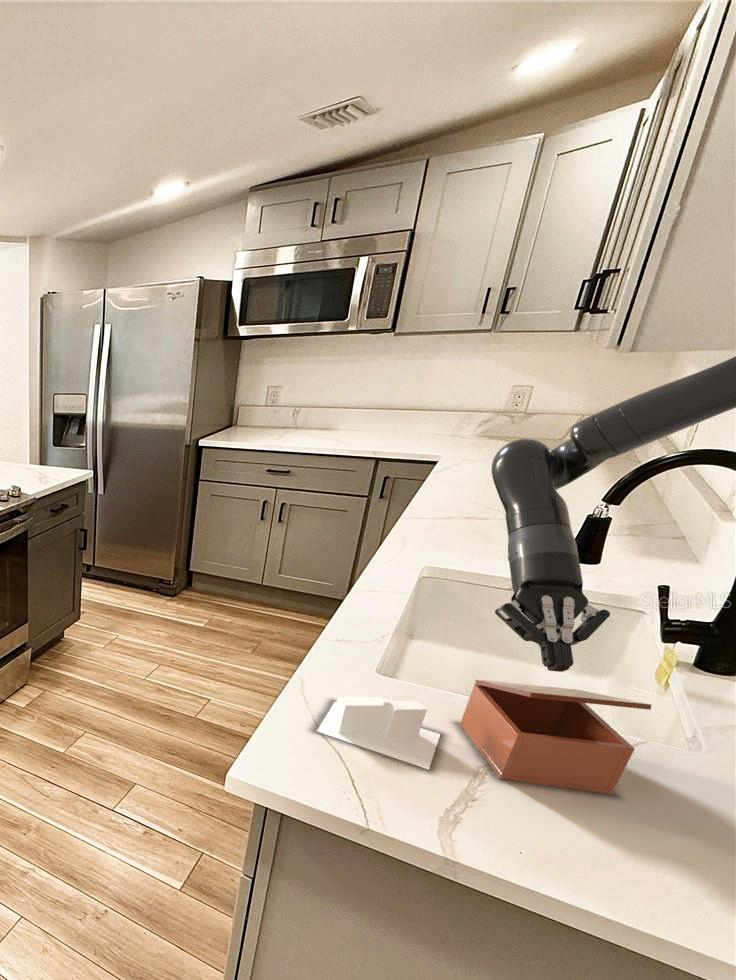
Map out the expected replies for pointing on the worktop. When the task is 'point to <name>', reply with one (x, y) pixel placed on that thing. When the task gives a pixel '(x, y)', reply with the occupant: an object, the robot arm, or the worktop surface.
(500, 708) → the reddish brown box
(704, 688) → the worktop surface
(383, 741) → the napkin holder
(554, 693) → the lid
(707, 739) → the worktop surface
